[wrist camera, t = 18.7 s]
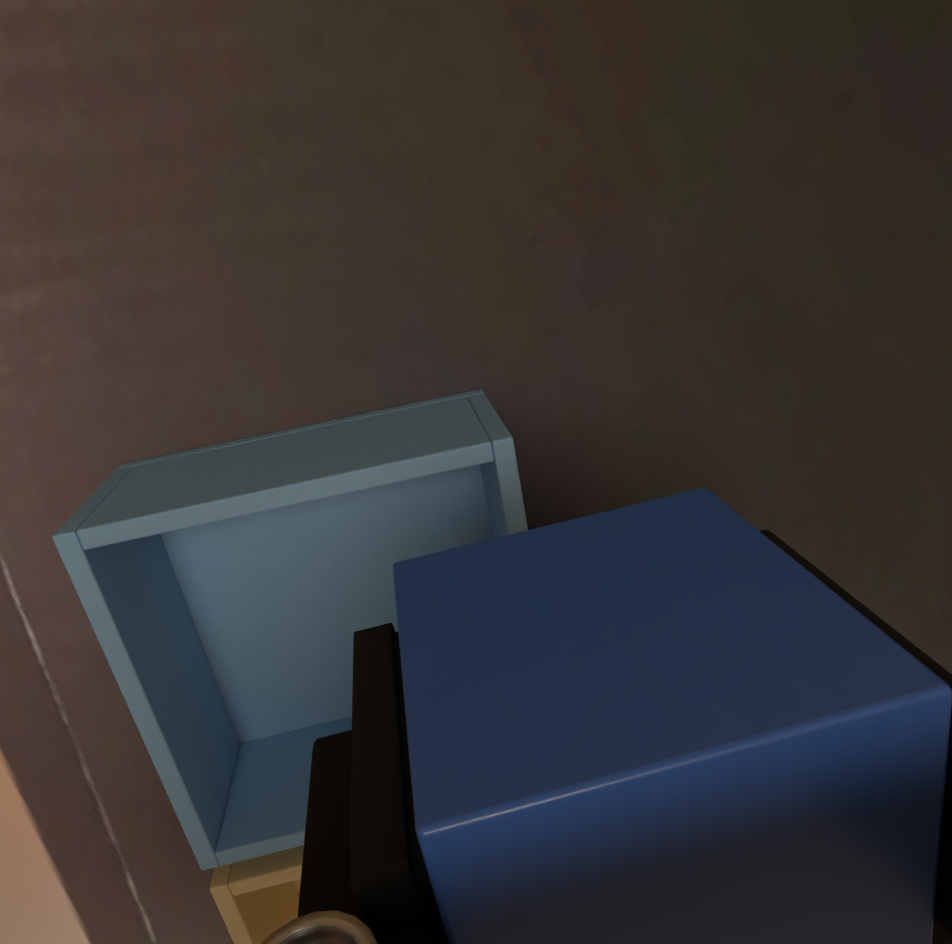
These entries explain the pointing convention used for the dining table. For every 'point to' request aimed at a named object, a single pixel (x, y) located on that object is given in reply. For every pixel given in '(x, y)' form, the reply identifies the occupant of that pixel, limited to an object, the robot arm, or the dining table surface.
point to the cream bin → (258, 894)
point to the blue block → (665, 740)
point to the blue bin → (272, 592)
